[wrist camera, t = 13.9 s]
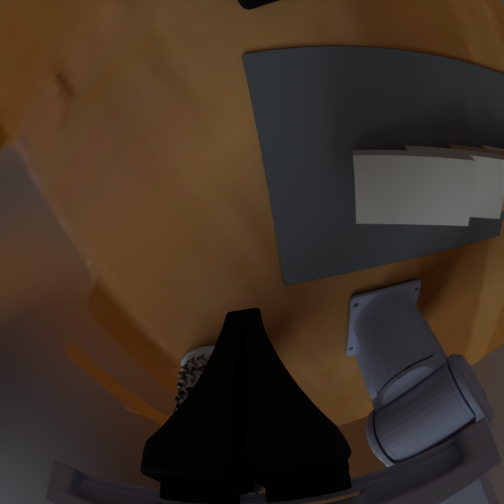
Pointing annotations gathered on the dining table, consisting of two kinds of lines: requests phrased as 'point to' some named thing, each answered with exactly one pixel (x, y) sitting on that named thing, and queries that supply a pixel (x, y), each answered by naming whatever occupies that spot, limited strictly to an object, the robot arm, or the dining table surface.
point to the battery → (254, 3)
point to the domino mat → (361, 146)
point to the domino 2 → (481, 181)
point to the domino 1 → (413, 187)
